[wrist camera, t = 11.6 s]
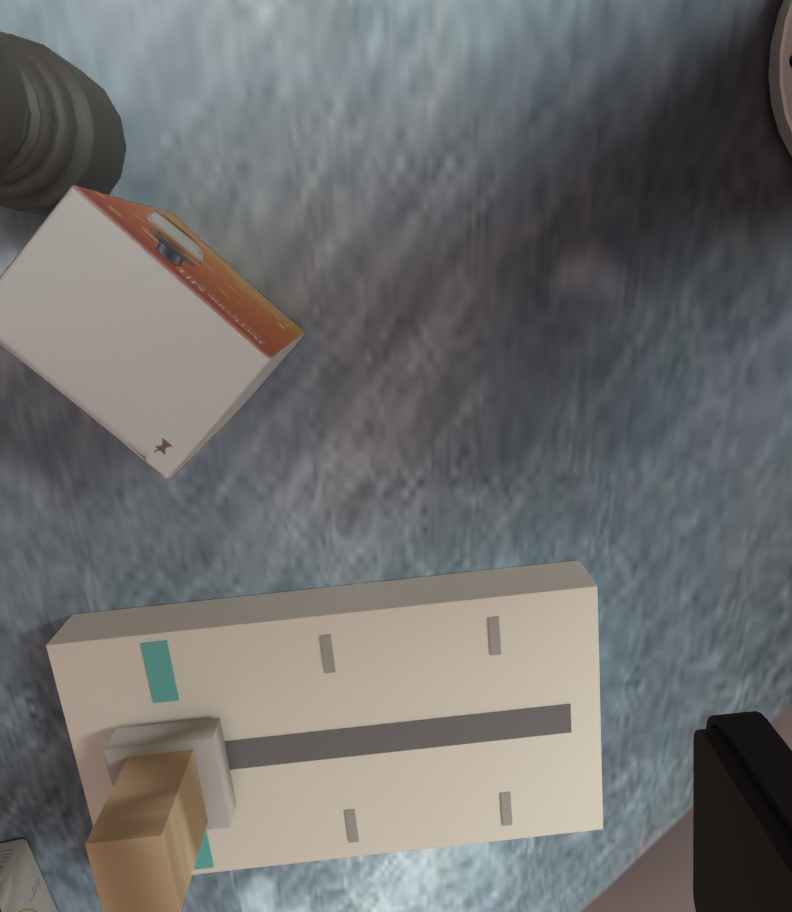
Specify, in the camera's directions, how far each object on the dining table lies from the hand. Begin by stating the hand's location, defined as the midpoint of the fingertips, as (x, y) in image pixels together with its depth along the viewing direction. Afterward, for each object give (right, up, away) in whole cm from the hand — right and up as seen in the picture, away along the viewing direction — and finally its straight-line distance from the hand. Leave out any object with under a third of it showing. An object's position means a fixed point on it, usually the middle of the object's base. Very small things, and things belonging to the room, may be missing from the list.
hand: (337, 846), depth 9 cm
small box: (-8, +11, +23) cm, 27 cm away
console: (-2, -8, +28) cm, 30 cm away
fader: (-10, -10, +25) cm, 29 cm away
